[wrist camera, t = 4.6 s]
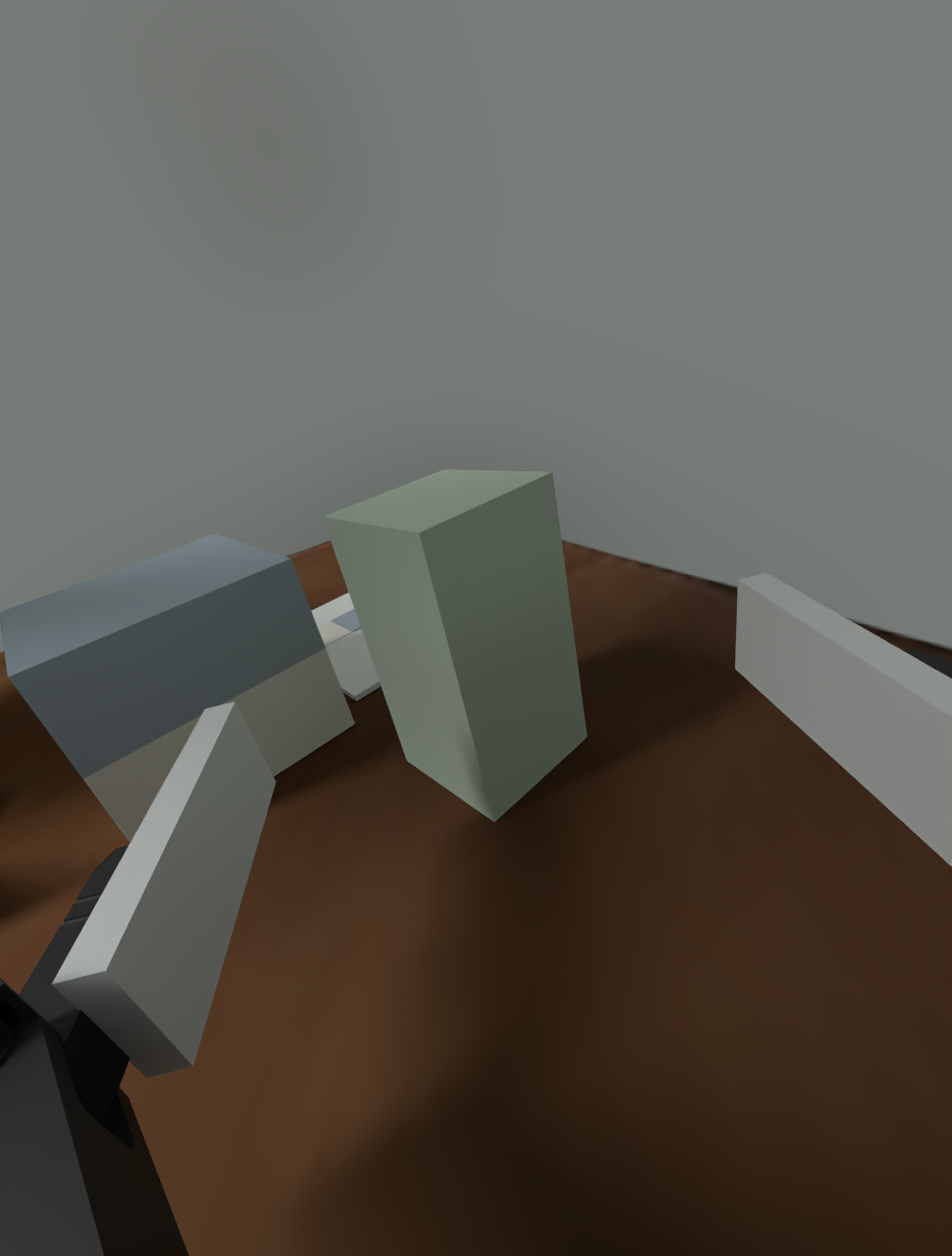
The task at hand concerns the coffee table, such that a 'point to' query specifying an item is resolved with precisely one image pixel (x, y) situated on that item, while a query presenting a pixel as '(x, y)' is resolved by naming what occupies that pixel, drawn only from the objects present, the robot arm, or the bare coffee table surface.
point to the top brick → (468, 627)
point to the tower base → (173, 666)
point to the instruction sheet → (346, 647)
